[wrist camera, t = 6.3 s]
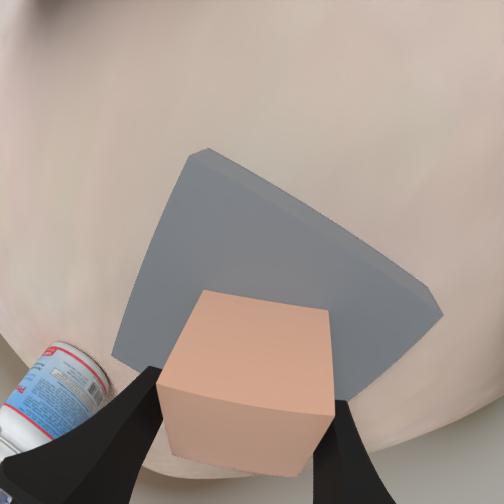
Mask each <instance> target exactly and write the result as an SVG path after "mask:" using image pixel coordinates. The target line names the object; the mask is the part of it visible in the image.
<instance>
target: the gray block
mask: <svg viewBox="0 0 504 504" xmlns="http://www.w3.org/2000/svg"><path fill="white" fill-rule="evenodd" d="M203 290H208V291H213V292H219V293H224V294H230V295H236V296H241V297H247V298H253V299H259V300H265V301H271V302H277V303H283V304H290V305H296V306H303V307H309V308H316V309H323V310H328V312H329V323H330V335H331V348H332V362H333V379H334V399H335V400H346V402H348V401H349V400H350V399H352V398H353V397H354V396H356V395H357V394H358V393H359V392H361V391H362V390H363V389H364V388H366V387H367V386H368V385H369V384H371V383H372V382H373V381H374V380H375V379H377V378H378V377H379V376H380V375H381V374H383V373H384V372H385V371H386V370H387V369H388V368H389V367H391V366H392V365H393V364H394V363H395V362H396V361H397V360H398V359H400V358H401V357H402V356H403V355H404V354H405V353H406V352H407V351H408V350H409V349H410V348H411V347H412V346H414V345H415V344H416V343H417V342H418V341H419V340H420V339H421V338H422V337H423V336H424V335H425V334H426V333H427V332H428V331H429V330H430V329H431V328H432V327H433V326H434V325H435V324H436V323H437V321H438V320H439V319H440V318H441V317H442V316H443V313H442V311H441V309H440V307H439V306H438V304H437V302H436V301H435V299H434V297H433V295H432V294H431V292H430V290H429V289H428V287H427V286H426V285H424V284H423V283H422V282H420V281H419V280H418V279H416V278H415V277H413V276H412V275H411V274H409V273H408V272H407V271H405V270H404V269H402V268H401V267H400V266H398V265H397V264H395V263H394V262H393V261H391V260H390V259H388V258H387V257H385V256H384V255H383V254H381V253H380V252H378V251H377V250H375V249H374V248H372V247H371V246H369V245H368V244H366V243H365V242H364V241H362V240H361V239H359V238H358V237H356V236H355V235H353V234H352V233H350V232H349V231H347V230H345V229H344V228H342V227H341V226H339V225H338V224H336V223H335V222H333V221H332V220H330V219H329V218H327V217H325V216H324V215H322V214H321V213H319V212H318V211H316V210H314V209H313V208H311V207H310V206H308V205H306V204H305V203H303V202H302V201H300V200H298V199H297V198H295V197H293V196H292V195H290V194H288V193H287V192H285V191H283V190H282V189H280V188H278V187H277V186H275V185H273V184H272V183H270V182H268V181H267V180H265V179H263V178H261V177H260V176H258V175H256V174H255V173H253V172H251V171H249V170H248V169H246V168H244V167H242V166H241V165H239V164H237V163H235V162H233V161H232V160H230V159H228V158H226V157H224V156H223V155H221V154H219V153H217V152H215V151H213V150H212V149H210V148H207V149H205V150H202V151H200V152H197V153H195V154H192V155H190V156H189V157H188V159H187V161H186V163H185V165H184V168H183V170H182V172H181V174H180V176H179V178H178V180H177V182H176V185H175V187H174V189H173V191H172V193H171V196H170V198H169V200H168V202H167V205H166V207H165V209H164V212H163V214H162V216H161V219H160V221H159V223H158V226H157V228H156V230H155V233H154V235H153V238H152V240H151V243H150V245H149V248H148V250H147V253H146V255H145V258H144V260H143V263H142V266H141V268H140V271H139V274H138V276H137V279H136V282H135V284H134V287H133V290H132V293H131V296H130V298H129V301H128V304H127V307H126V310H125V313H124V316H123V319H122V322H121V325H120V328H119V331H118V335H117V338H116V341H115V344H114V347H113V351H112V354H111V356H113V357H114V358H116V359H118V360H119V361H121V362H123V363H124V364H126V365H127V366H129V367H131V368H133V369H134V370H136V371H138V372H139V373H142V372H143V371H144V370H145V369H146V368H147V367H148V366H153V367H157V368H160V369H163V368H164V366H165V364H166V362H167V360H168V358H169V356H170V354H171V352H172V350H173V348H174V346H175V344H176V342H177V340H178V338H179V336H180V334H181V332H182V331H183V329H184V327H185V325H186V323H187V321H188V319H189V317H190V315H191V313H192V311H193V309H194V307H195V305H196V303H197V302H198V300H199V298H200V296H201V294H202V292H203Z"/></svg>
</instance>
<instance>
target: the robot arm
mask: <svg viewBox="0 0 504 504" xmlns="http://www.w3.org/2000/svg"><path fill="white" fill-rule="evenodd" d="M162 370H163V369H160V368H157V367H153V366H148V367H147V368H146V369H145V370H144V371H143V372H142V373H141V374H140V375H139V376H138V377H137V378H136V379H135V380H134V381H133V382H132V383H131V384H130V385H128V386H127V387H126V388H125V389H124V390H123V391H122V392H121V393H120V394H119V395H118V396H116V397H115V398H114V399H113V400H112V401H111V402H110V403H108V404H107V405H106V406H105V407H103V408H102V409H101V410H100V411H98V412H97V413H96V414H94V415H93V416H92V417H90V418H89V419H88V420H86V421H85V422H83V423H82V424H80V425H79V426H77V427H76V428H74V429H72V430H71V431H69V432H67V433H65V434H64V435H62V436H60V437H58V438H56V439H54V440H52V441H50V442H48V443H46V444H43V445H41V446H39V447H36V448H34V449H31V450H28V451H25V452H22V453H19V454H16V455H12V456H8V457H5V458H4V460H3V461H2V462H1V464H0V504H129V501H130V498H131V494H132V491H133V488H134V485H135V482H136V479H137V476H138V473H139V470H140V468H141V466H142V463H143V461H144V459H145V457H146V455H147V453H148V451H149V449H150V447H151V445H152V442H153V440H154V438H155V436H156V434H157V432H158V430H159V428H160V426H161V423H162V421H163V415H162V411H161V406H160V401H159V397H158V392H157V387H156V382H157V380H158V378H159V376H160V374H161V372H162ZM313 472H314V473H313V474H314V475H313V476H314V478H313V479H314V480H313V504H396V503H395V501H394V500H393V499H392V497H391V496H390V494H389V493H388V491H387V489H386V488H385V486H384V484H383V483H382V481H381V479H380V478H379V476H378V474H377V472H376V470H375V468H374V466H373V464H372V463H371V461H370V458H369V456H368V454H367V452H366V450H365V447H364V445H363V443H362V441H361V438H360V436H359V433H358V431H357V428H356V426H355V423H354V420H353V418H352V415H351V412H350V409H349V406H348V403H347V402H346V400H335V417H334V419H333V420H332V422H331V424H330V426H329V427H328V429H327V431H326V432H325V434H324V436H323V437H322V439H321V441H320V442H319V444H318V445H317V447H316V449H315V450H314V452H313Z"/></svg>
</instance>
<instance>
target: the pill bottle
mask: <svg viewBox="0 0 504 504" xmlns="http://www.w3.org/2000/svg"><path fill="white" fill-rule="evenodd" d="M108 391H109V384H108V381H107V378H106V376H105V374H104V373H103V371H102V370H101V369H100V367H99V366H98V365H97V364H96V363H95V362H94V361H93V360H92V359H91V358H90V357H88V356H87V355H86V354H84V353H83V352H81V351H80V350H78V349H76V348H75V347H73V346H71V345H69V344H66V343H62V342H56V343H53V344H52V345H51V346H50V347H49V348H48V349H47V350H46V351H45V352H44V354H43V355H42V356H41V357H40V358H39V360H38V361H37V362H36V363H35V365H34V366H33V367H32V368H31V369H30V371H29V372H28V373H27V375H26V376H25V377H24V378H23V380H22V381H21V382H20V383H19V385H18V386H17V387H16V389H15V390H14V391H13V392H12V394H11V395H10V396H9V398H8V399H7V401H6V402H5V403H4V405H3V406H2V407H1V409H0V426H1V428H2V432H1V434H0V461H1V462H2V461H3V460H4V458H5V457H8V456H12V455H16V454H19V453H22V452H25V451H28V450H31V449H34V448H36V447H39V446H41V445H43V444H46V443H48V442H50V441H52V440H54V439H56V438H58V437H60V436H62V435H64V434H65V433H67V432H69V431H71V430H72V429H74V428H76V427H77V426H79V425H80V424H82V423H83V422H85V421H86V420H88V419H89V418H90V417H92V416H93V415H94V414H96V412H97V411H98V409H99V407H100V406H101V404H102V402H103V401H104V399H105V397H106V395H107V394H108Z"/></svg>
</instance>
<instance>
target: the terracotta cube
mask: <svg viewBox="0 0 504 504" xmlns="http://www.w3.org/2000/svg"><path fill="white" fill-rule="evenodd" d="M156 387H157V392H158V397H159V401H160V406H161V411H162V415H163V419H164V424H165V428H166V432H167V436H168V440H169V444H170V448H171V452H172V455H175V456H178V457H182V458H186V459H189V460H193V461H197V462H201V463H206V464H210V465H215V466H219V467H224V468H229V469H234V470H240V471H246V472H252V473H258V474H266V475H274V476H282V477H292V478H296V477H297V476H298V474H299V473H300V471H301V470H302V469H303V467H304V466H305V464H306V463H307V461H308V460H309V458H310V457H311V455H312V453H313V452H314V450H315V449H316V447H317V445H318V444H319V442H320V441H321V439H322V437H323V436H324V434H325V432H326V431H327V429H328V427H329V426H330V424H331V422H332V420H333V419H334V417H335V399H334V379H333V362H332V348H331V335H330V323H329V312H328V310H323V309H316V308H309V307H303V306H296V305H290V304H283V303H277V302H271V301H265V300H259V299H253V298H247V297H241V296H236V295H230V294H224V293H219V292H213V291H208V290H203V292H202V294H201V296H200V298H199V300H198V302H197V303H196V305H195V307H194V309H193V311H192V313H191V315H190V317H189V319H188V321H187V323H186V325H185V327H184V329H183V331H182V332H181V334H180V336H179V338H178V340H177V342H176V344H175V346H174V348H173V350H172V352H171V354H170V356H169V358H168V360H167V362H166V364H165V366H164V368H163V370H162V372H161V374H160V376H159V378H158V380H157V382H156Z"/></svg>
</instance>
